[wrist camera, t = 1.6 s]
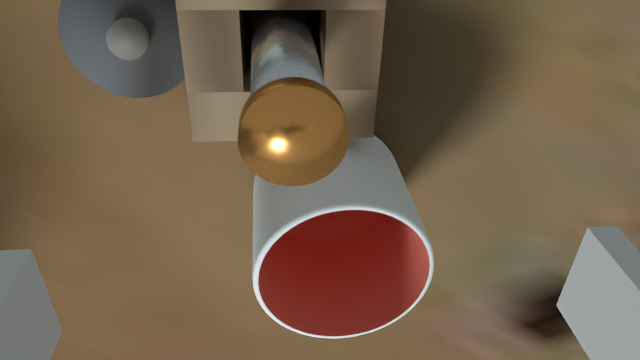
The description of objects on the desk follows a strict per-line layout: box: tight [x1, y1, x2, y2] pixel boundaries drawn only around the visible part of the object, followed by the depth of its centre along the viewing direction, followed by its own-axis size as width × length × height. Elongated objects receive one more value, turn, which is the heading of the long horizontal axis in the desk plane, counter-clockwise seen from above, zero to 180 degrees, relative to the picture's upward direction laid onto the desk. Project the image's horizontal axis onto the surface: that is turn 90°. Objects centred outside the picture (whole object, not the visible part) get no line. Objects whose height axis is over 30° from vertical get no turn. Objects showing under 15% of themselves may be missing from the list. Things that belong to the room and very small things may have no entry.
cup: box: [253, 135, 434, 338], centre depth 33 cm, size 10×10×10 cm
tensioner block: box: [58, 0, 386, 142], centre depth 28 cm, size 16×10×5 cm, turn 88°
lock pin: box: [238, 10, 349, 186], centre depth 24 cm, size 4×4×14 cm
